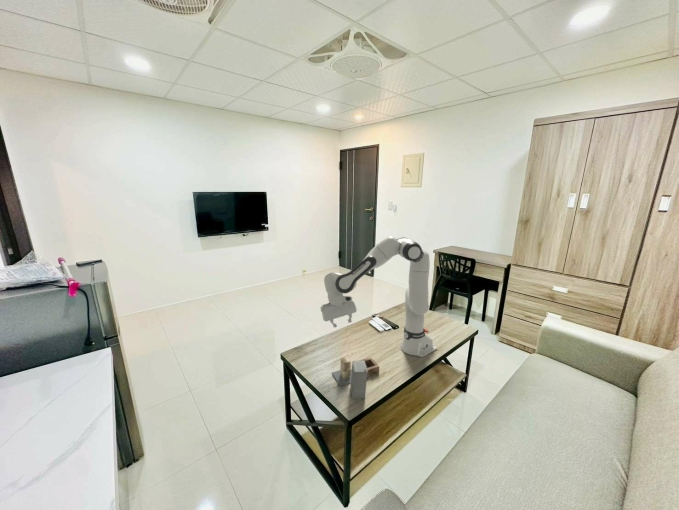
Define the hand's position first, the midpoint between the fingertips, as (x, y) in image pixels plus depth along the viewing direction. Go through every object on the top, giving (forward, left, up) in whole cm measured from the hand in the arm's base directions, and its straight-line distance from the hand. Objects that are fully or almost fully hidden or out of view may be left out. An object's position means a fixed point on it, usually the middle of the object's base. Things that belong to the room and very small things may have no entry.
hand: (342, 324), depth 153 cm
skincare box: (+3, +26, -24) cm, 35 cm away
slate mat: (+4, +13, -23) cm, 27 cm away
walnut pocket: (-10, +13, -23) cm, 28 cm away
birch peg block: (+4, +13, -23) cm, 27 cm away
